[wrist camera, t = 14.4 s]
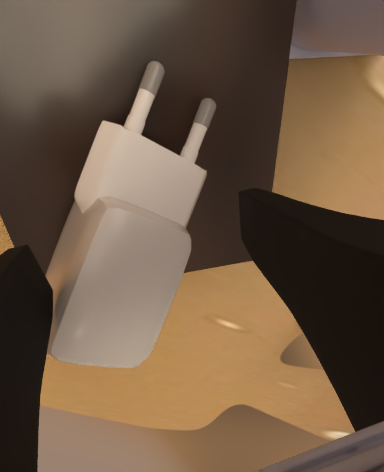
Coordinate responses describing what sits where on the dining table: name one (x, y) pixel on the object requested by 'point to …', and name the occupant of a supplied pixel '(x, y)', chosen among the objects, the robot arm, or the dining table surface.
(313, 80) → the dining table surface
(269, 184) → the stool
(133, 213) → the power adapter
